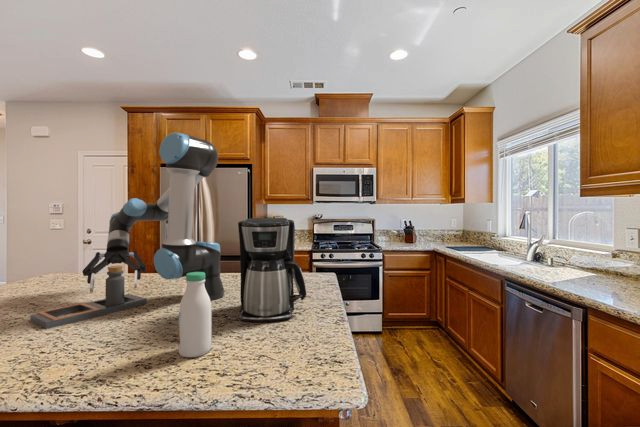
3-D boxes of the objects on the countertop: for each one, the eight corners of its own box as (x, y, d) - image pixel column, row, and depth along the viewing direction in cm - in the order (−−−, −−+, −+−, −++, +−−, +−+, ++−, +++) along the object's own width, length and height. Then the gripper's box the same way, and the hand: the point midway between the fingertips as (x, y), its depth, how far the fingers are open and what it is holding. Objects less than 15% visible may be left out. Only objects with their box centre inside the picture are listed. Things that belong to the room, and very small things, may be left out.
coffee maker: (245, 328, 93) (246, 218, 93) (223, 301, 121) (223, 217, 121) (311, 316, 104) (311, 218, 104) (276, 294, 132) (277, 217, 132)
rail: (146, 303, 117) (146, 297, 117) (46, 329, 91) (46, 321, 91) (128, 298, 124) (128, 293, 124) (30, 320, 98) (30, 313, 98)
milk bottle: (217, 348, 79) (218, 271, 79) (194, 361, 72) (194, 277, 72) (196, 342, 83) (196, 269, 83) (171, 354, 76) (172, 274, 76)
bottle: (111, 304, 116) (111, 265, 116) (127, 304, 117) (127, 265, 117) (101, 309, 110) (102, 267, 110) (118, 308, 111) (118, 267, 111)
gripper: (152, 248, 134) (152, 289, 120) (81, 251, 121) (72, 297, 108) (152, 237, 129) (152, 279, 116) (78, 239, 117) (69, 286, 104)
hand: (114, 288), depth 112 cm, fingers open, 13 cm apart
